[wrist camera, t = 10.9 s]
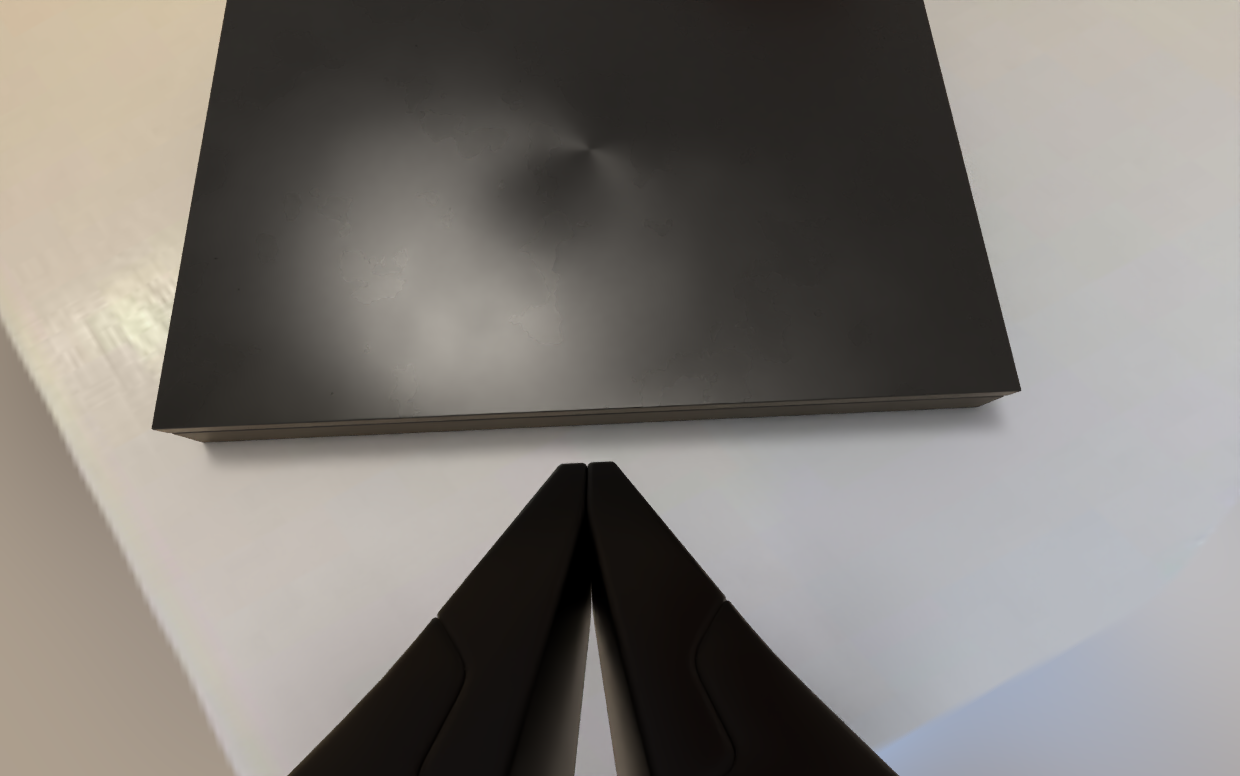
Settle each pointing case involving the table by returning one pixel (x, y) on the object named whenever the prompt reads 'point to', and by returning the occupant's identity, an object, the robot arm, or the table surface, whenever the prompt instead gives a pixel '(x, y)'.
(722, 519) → the table surface
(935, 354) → the laptop screen
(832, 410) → the laptop
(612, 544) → the robot arm
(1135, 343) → the table surface
